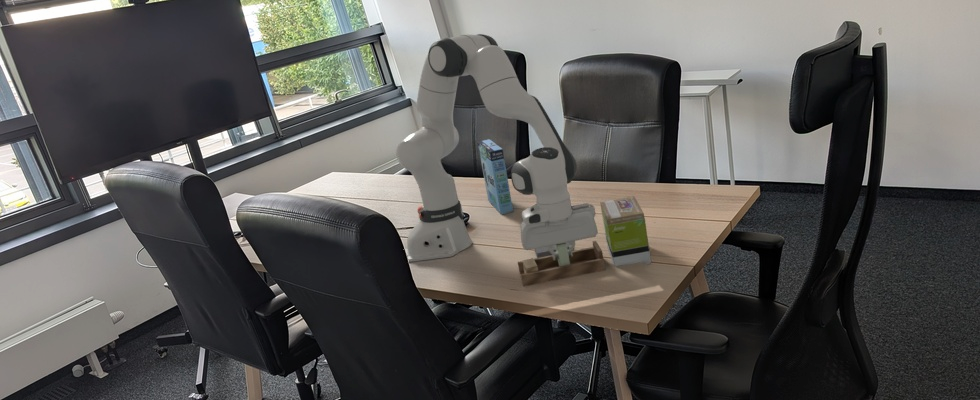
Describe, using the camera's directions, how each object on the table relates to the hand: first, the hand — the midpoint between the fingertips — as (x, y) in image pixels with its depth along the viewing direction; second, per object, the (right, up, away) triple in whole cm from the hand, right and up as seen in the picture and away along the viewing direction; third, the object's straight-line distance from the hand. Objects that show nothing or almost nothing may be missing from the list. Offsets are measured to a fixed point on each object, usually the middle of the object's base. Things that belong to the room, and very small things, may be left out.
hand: (562, 257), depth 199 cm
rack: (0, -5, +1) cm, 5 cm away
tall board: (+1, -3, +1) cm, 4 cm away
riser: (-1, 0, +16) cm, 16 cm away
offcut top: (-9, -3, 0) cm, 9 cm away
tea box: (+18, 0, +4) cm, 19 cm away
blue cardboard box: (-16, +13, +69) cm, 72 cm away
